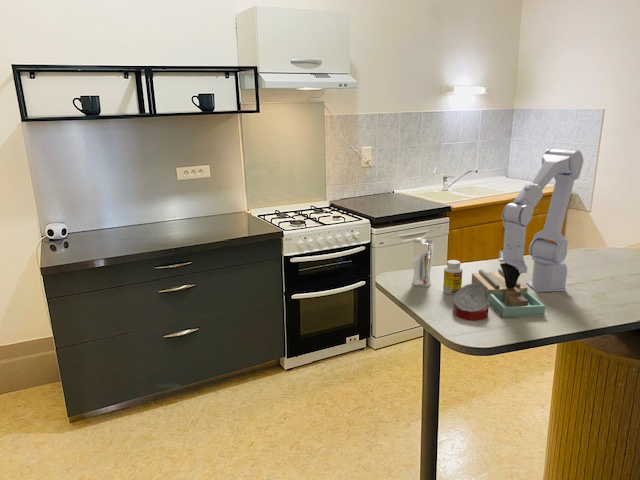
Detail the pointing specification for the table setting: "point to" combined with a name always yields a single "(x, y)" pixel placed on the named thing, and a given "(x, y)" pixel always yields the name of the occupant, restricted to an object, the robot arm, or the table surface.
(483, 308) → the canned food
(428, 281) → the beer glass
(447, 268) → the supplement bottle
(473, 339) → the table surface
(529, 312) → the tray
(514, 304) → the block
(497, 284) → the slot deck
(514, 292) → the brown block
